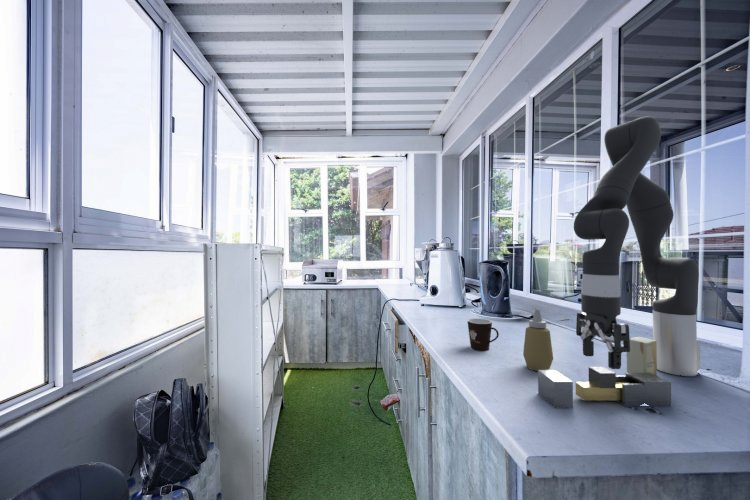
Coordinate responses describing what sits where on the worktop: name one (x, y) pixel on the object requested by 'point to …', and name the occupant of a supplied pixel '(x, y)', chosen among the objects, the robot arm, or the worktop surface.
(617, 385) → the yellow bar
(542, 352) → the squeeze bottle
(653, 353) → the skincare box
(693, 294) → the robot arm
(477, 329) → the coffee mug
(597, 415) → the worktop surface
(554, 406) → the socket
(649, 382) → the sleeve
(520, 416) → the worktop surface
